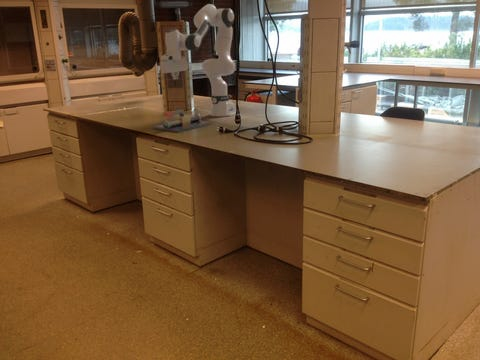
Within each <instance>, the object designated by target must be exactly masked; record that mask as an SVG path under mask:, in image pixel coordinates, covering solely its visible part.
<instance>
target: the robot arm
mask: <svg viewBox="0 0 480 360" xmlns="http://www.w3.org/2000/svg"><path fill="white" fill-rule="evenodd" d="M234 22H235V12H234V11H233V10H232V9H231V8H229V7H227V8H226V7H225V8H216V6H215V5H214V4H212V3H211V4H210V3H207V4H206V5H204V6H202V8H201V9H199V10H198V11H197V12H196V14H195V15H194V16H193V25H194V26H195V28H197V30H196V31H195V32H194V33H191V34H190V33H189V34H186V33H185V34H183V33H181V32H180V31H179V30H178V29H177V28H172V29H168V30H166V32H165V36H164V38H165V39H164V40H165V41H164V42H165V46H166V47H165V48H166V51H165V52H166V53H165V54H163V55H162V56H160V57H159V58H160V71H161V73H162V74H169V73H170V74H171V76H172V80H179V75H180V72H183V71H184V72H185V71H188V68H189V66H188V62H187V57H186V56H185V55H182V54H181V53H182V52H181V51H191V52H196V51H198V50H199V48H200V47H201V45H202V43H203V40H204V39H205V37H206V36H207V34H208V32H209V30H210V28H211V27H213V28H214V27H217V34H216V35H215V36H216V37H215V41H214V48H213V49H214V51H215V52H216V53H217V54H218V58H209V59H205V60H204V61H203V62H202V65H201V69H202V71H203V73H204V74H205V75H206V76H207V78H208V79H209V83H210V86H211V97H210V98H211V99H210V100H211V103H210V104H211V106H210V113H209V114H210V116H211V117H231V116H234V115H237V114H236V111H237V107H236V105H235V103H233V102H232V101H231V100H230V99H231V98H232V95H231V94H228V84H227V82H226V81H225V80H224V79H223V78H222V76H228V75H233V74H234V73H235V71H236V63H235V62H234V60H233V59H232V56H231V47H232V41H233V35H234V34H233V31H234V29H233V27H232V26H233V24H234Z"/></svg>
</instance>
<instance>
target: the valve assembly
mask: <svg viewBox="0 0 480 360" xmlns="http://www.w3.org/2000/svg"><path fill="white" fill-rule="evenodd" d="M173 118H174V119H170V120H168V119H164V120H163V121H162V124H158V125H157V124H156V125H154V126H152V130H158V131H165V132H173V133H182V132H185V131H191V130H194V129H198V128H202V127H205V126H206V127H207V126H210V125H213V123H212V121H208V120H207V121H206V120H202V116H201V114H200V113H195V114H193V115H190V114H185V115H179V114H175V115H173Z"/></svg>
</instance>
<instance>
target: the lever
mask: <svg viewBox="0 0 480 360" xmlns="http://www.w3.org/2000/svg"><path fill="white" fill-rule="evenodd" d="M176 115H186V113H185V109H181V108H180V109H176V110H172V111H171V110H170V111H167V112H166V111H165V112H163V117H172V116H176Z"/></svg>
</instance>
